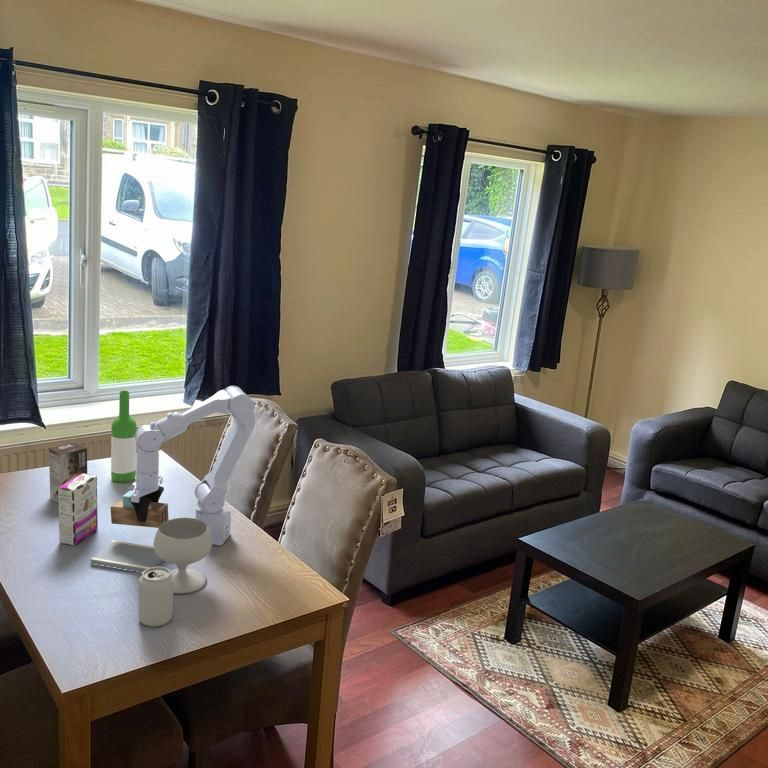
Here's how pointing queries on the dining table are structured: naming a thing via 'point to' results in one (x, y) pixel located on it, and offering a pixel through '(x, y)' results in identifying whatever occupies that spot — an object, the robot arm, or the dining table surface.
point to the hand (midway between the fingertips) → (146, 516)
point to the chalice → (184, 551)
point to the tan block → (128, 516)
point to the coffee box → (66, 465)
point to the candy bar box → (77, 509)
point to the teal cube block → (127, 499)
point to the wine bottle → (123, 443)
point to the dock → (127, 556)
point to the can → (155, 596)
